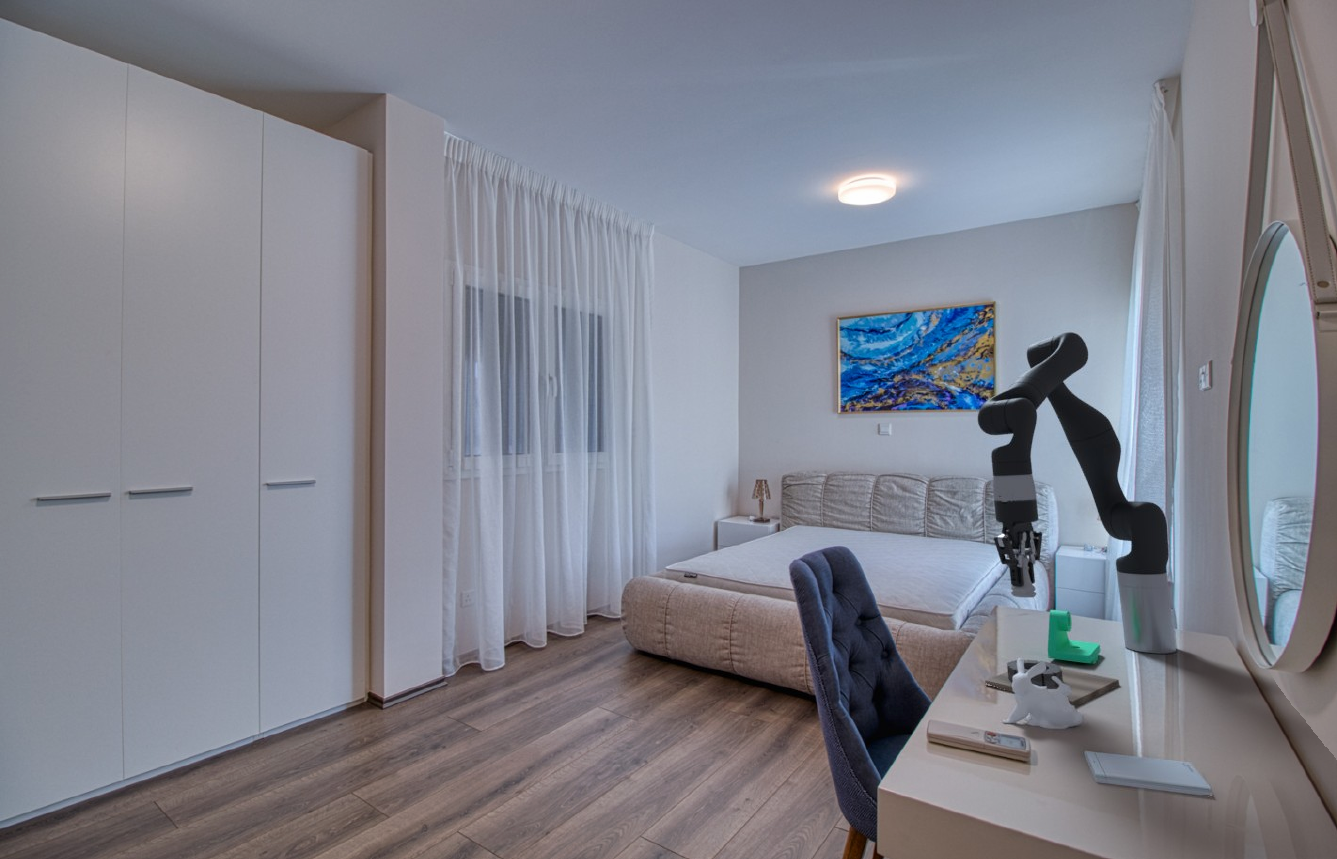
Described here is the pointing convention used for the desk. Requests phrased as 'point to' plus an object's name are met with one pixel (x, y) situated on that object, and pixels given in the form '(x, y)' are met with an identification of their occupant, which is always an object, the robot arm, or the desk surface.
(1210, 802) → the desk surface
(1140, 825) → the desk surface
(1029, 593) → the rook chess piece
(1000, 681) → the socket board
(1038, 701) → the rabbit figurine
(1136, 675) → the desk surface
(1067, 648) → the camera mount
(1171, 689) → the desk surface
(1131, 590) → the robot arm
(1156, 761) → the hard drive
